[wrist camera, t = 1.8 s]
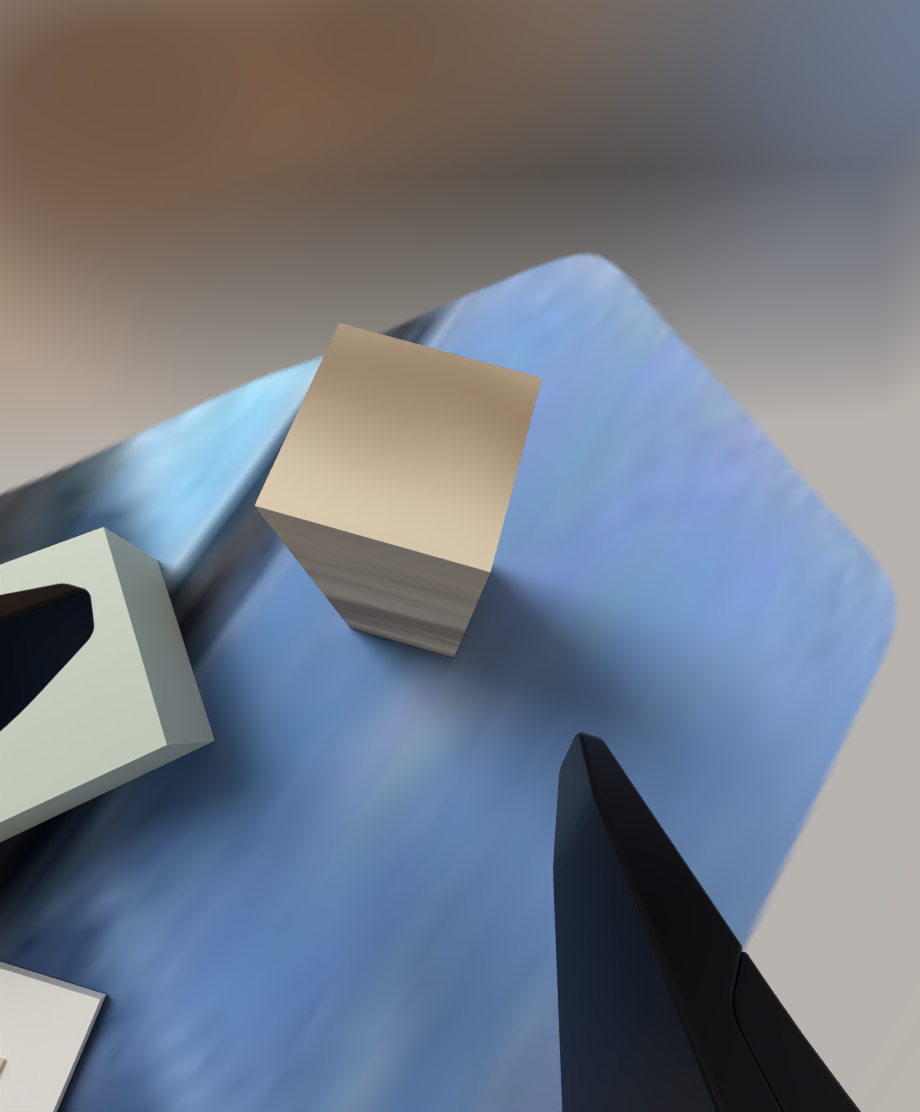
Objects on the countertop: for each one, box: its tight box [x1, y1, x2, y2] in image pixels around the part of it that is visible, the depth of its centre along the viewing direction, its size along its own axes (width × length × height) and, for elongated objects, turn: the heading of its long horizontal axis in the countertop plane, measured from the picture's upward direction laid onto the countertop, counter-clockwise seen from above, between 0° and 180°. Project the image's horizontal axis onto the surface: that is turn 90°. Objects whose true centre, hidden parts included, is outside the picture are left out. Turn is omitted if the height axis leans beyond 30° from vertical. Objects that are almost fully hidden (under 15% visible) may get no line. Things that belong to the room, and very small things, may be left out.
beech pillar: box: [255, 323, 542, 658], centre depth 15 cm, size 4×4×12 cm
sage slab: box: [0, 527, 215, 842], centre depth 17 cm, size 10×8×4 cm
